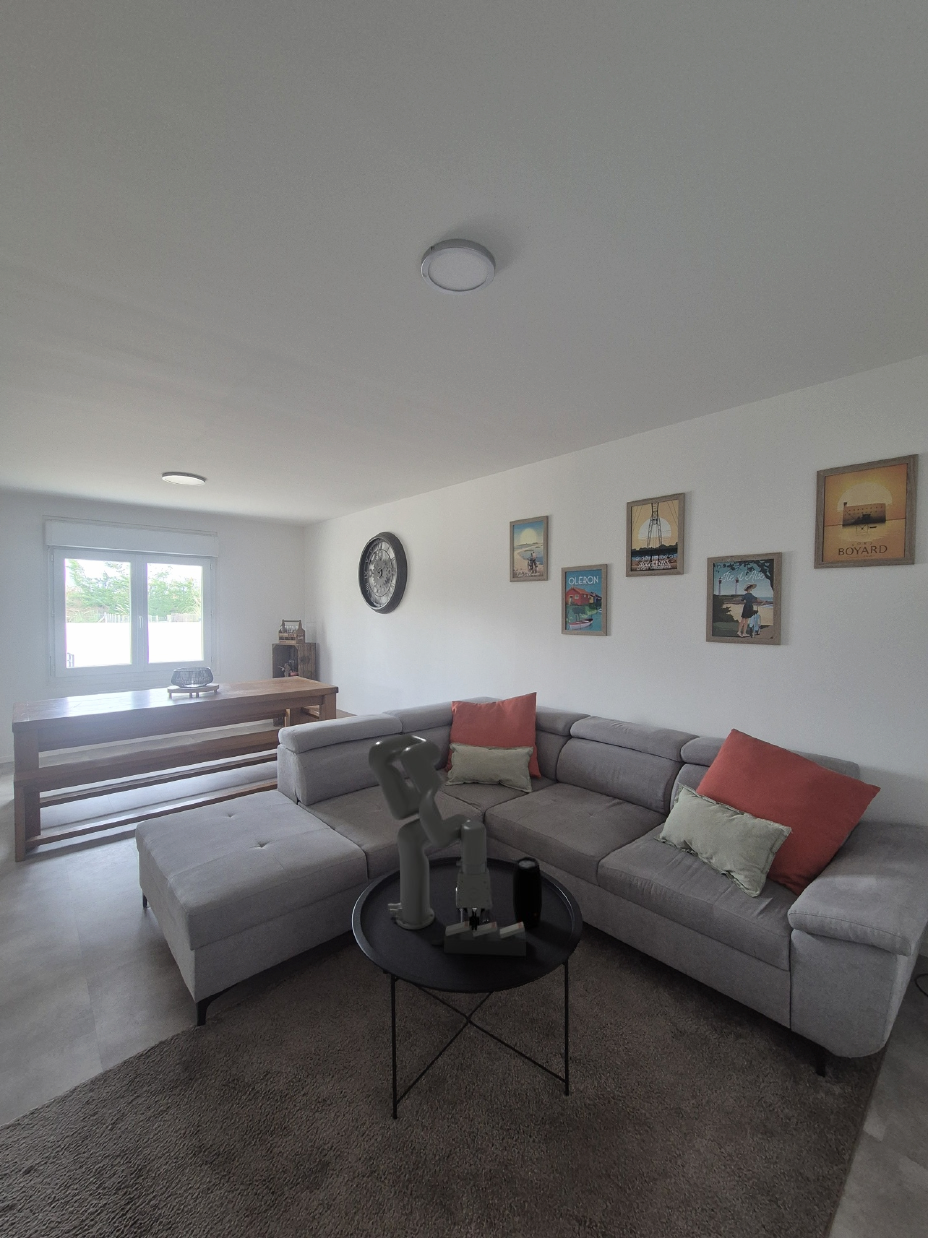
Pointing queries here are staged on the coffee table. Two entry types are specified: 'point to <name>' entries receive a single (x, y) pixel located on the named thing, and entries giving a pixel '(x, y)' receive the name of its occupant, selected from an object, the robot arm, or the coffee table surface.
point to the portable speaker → (527, 892)
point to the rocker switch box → (484, 943)
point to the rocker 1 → (457, 928)
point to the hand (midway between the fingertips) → (474, 927)
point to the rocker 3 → (512, 930)
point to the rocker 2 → (485, 929)
